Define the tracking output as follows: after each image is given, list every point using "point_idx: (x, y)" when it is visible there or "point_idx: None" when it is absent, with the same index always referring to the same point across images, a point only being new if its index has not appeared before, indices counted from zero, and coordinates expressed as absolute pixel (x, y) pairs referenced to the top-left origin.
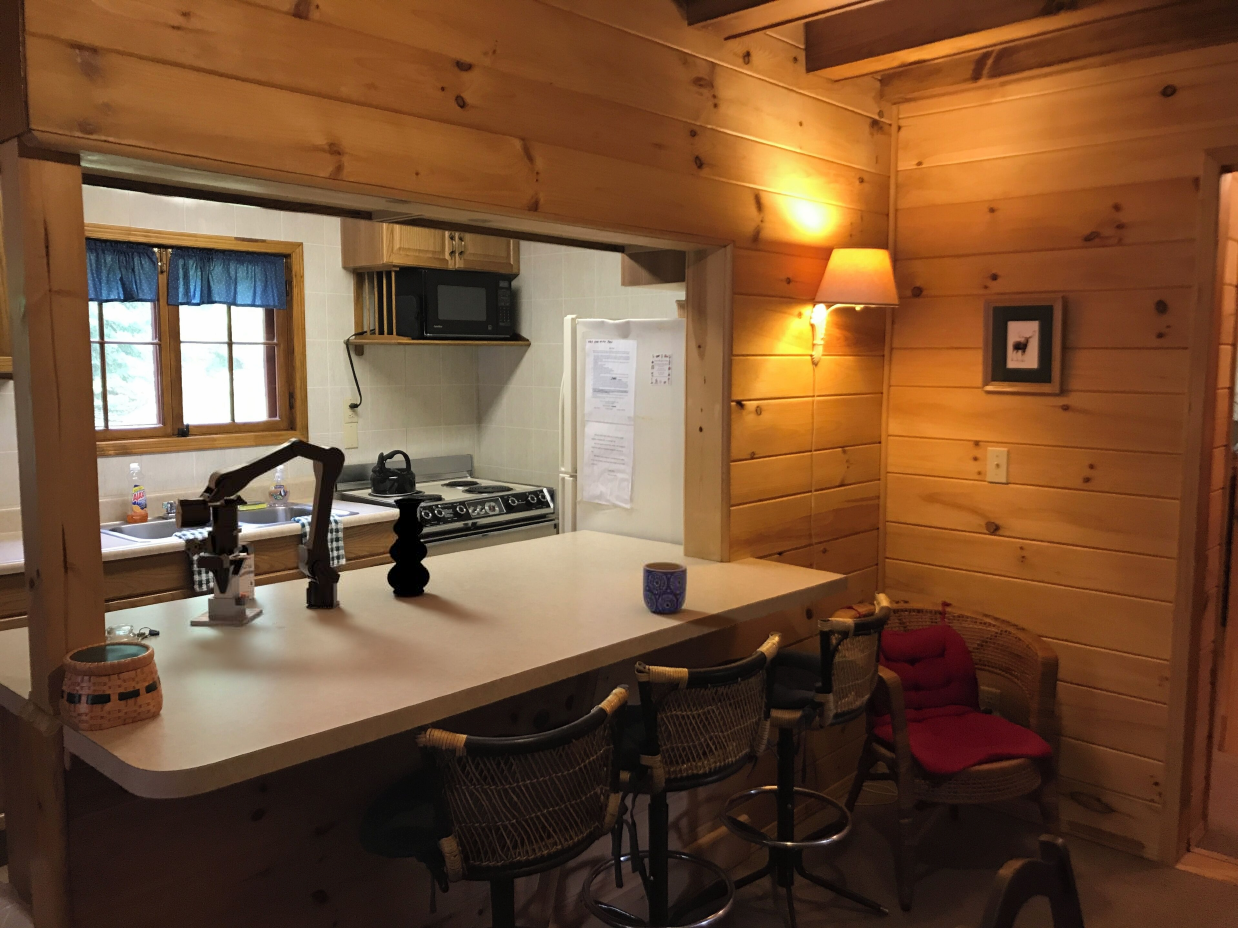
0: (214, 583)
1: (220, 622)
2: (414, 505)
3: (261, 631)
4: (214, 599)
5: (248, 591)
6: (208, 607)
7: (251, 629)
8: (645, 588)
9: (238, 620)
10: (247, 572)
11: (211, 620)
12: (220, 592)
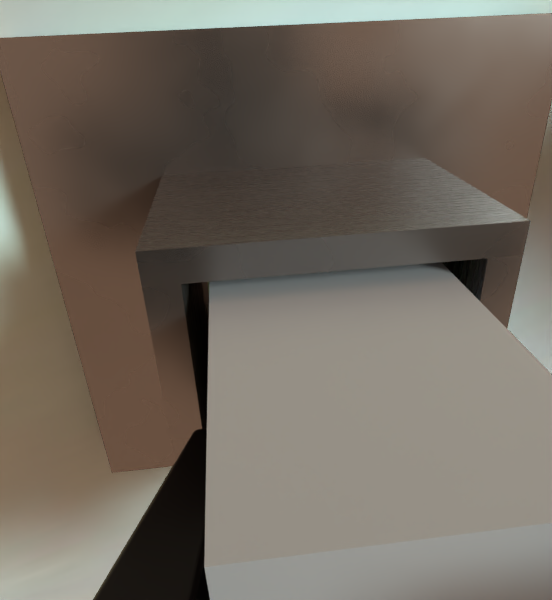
0: (209, 469)
1: (76, 328)
2: None
3: (40, 570)
4: (150, 331)
5: None
6: (153, 210)
7: (61, 516)
8: None
9: (140, 434)
10: None
11: (77, 251)
12: (189, 446)
